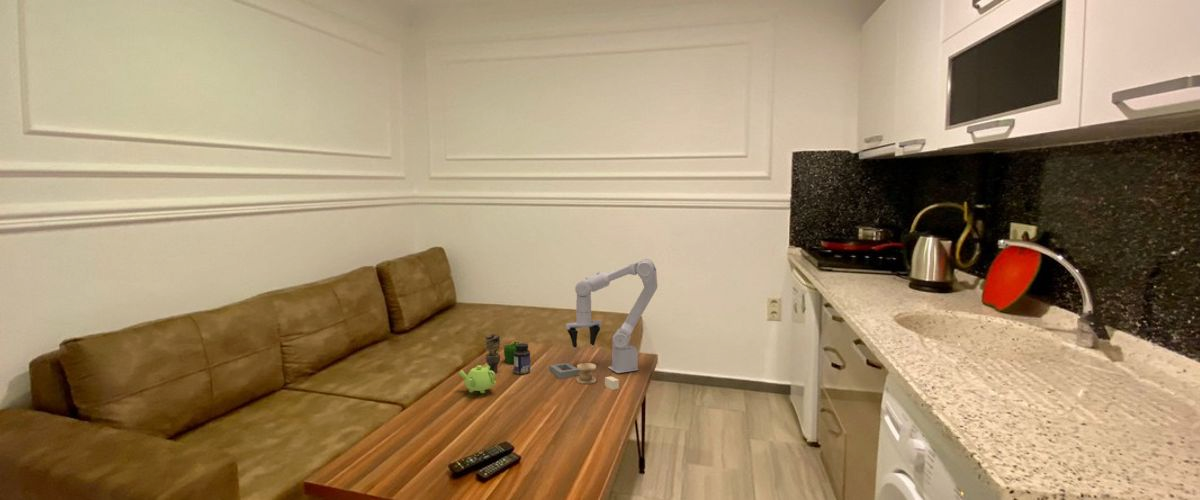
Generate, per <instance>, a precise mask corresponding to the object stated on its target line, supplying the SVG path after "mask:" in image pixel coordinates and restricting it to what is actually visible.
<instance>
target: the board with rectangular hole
mask: <svg viewBox="0 0 1200 500" xmlns="http://www.w3.org/2000/svg"><path fill="white" fill-rule="evenodd" d="M549 371H550V372H551V373H552V374H554V376H555V377H556V378H558V379H559V380H562V379H563V380H564V379H568V378H574V377H580V370H578V369H577V366H574V365H573V364H571V363H569V362H564V363H557V364H550V365H549Z"/></svg>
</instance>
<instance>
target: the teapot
mask: <svg viewBox="0 0 1200 500" xmlns="http://www.w3.org/2000/svg"><path fill="white" fill-rule="evenodd" d="M458 374H459V375H460V376H461V377H462V379H463V380H464V386H465V387H466V388H467V389H468V393H474V392H475V391H476V392H477V391H478V392H479V393H480V394H485V393H486V390H490V389H491V388H492V387H493V386H496V385H497V381H496V380H495V378H496V372H493V371H491V370H490V366H489V365H488V364H486V365H485V367H484V366H483V365H481V364H480V365H479V364H478V365H476V366H475V367H473V368H471V369H470V370H469V372H468V374H466V372H464V370H463V369H461V370H460V371H458Z"/></svg>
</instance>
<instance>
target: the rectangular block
mask: <svg viewBox="0 0 1200 500" xmlns="http://www.w3.org/2000/svg"><path fill="white" fill-rule="evenodd" d="M604 387H606V388H607V389H610V390H612V391H615V390H619V389H620V380H619V379H618V378H616V377H614V376H605V377H604Z"/></svg>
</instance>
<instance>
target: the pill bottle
mask: <svg viewBox="0 0 1200 500" xmlns="http://www.w3.org/2000/svg"><path fill="white" fill-rule="evenodd" d="M513 370H514V371H513V373H514V374H515V375H517V376H518V375H519V376H523V375H524V376H525V374H526V375H528V374H530V373H531V351H530V350H529V344H528V343H525V342H523V343H520V342H519V344H517V343H516V351H515V352H514V364H513Z"/></svg>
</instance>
